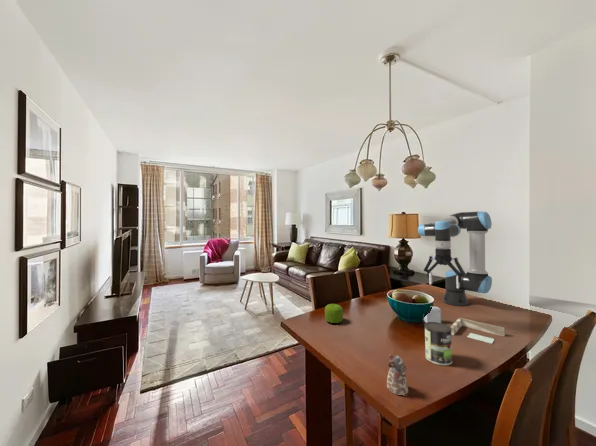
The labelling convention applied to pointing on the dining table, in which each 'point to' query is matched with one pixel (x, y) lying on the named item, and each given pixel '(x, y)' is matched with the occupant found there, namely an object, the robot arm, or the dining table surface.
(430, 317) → the medicine box
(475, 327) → the corner walls
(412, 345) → the dining table surface
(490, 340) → the pad
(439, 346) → the coffee can
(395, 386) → the figurine
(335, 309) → the apple
